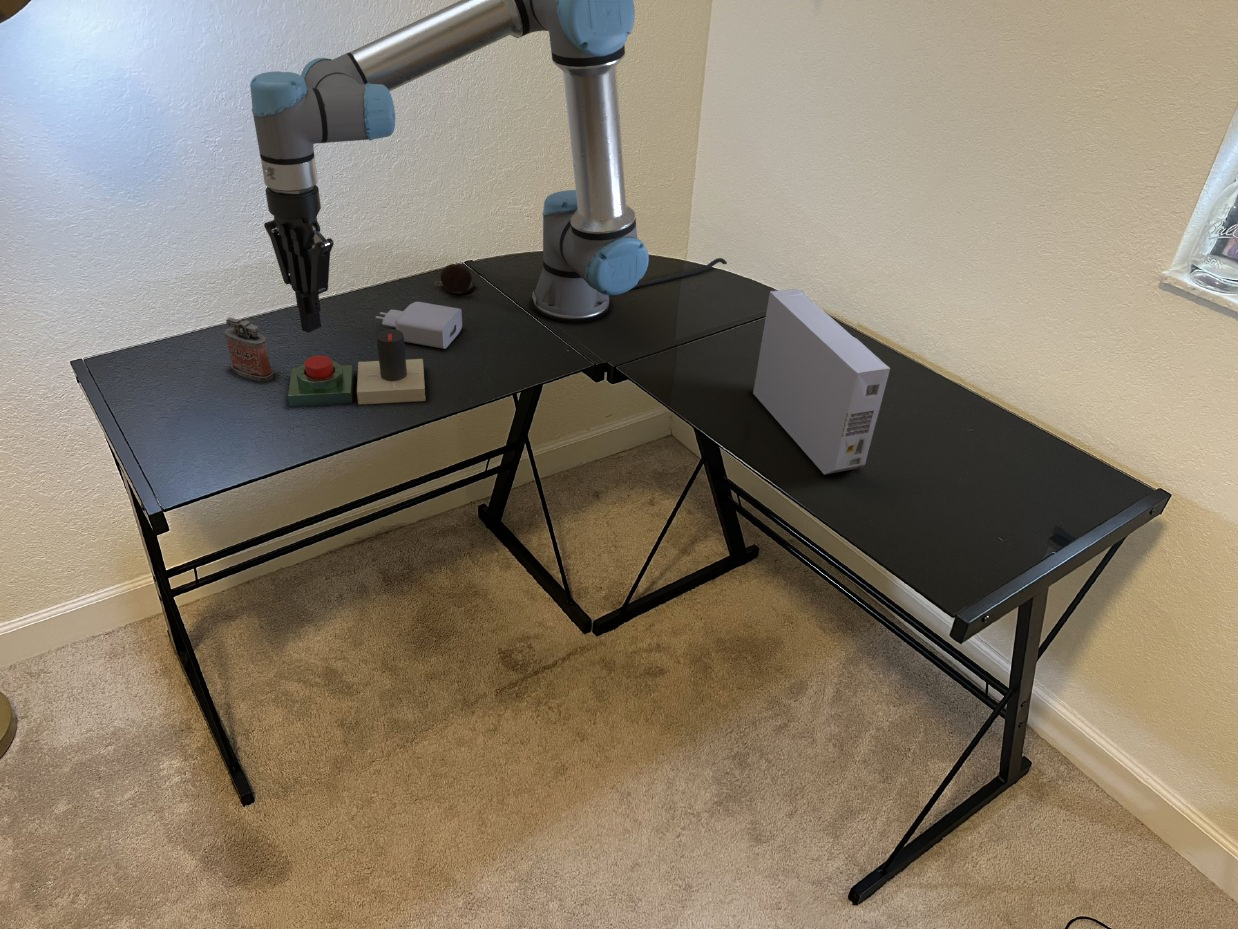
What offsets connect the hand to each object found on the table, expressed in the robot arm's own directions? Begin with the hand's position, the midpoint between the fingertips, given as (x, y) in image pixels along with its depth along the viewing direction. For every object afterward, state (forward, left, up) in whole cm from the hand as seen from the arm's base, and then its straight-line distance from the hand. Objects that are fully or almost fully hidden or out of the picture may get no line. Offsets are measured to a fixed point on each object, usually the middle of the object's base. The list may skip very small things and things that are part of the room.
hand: (311, 328), depth 153 cm
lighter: (+12, -7, -12) cm, 18 cm away
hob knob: (-12, 0, -9) cm, 15 cm away
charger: (-16, -19, -12) cm, 28 cm away
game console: (-79, +21, -12) cm, 83 cm away
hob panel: (-12, 0, -12) cm, 17 cm away
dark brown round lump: (-24, -37, -12) cm, 46 cm away
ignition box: (0, 0, -12) cm, 12 cm away
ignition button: (0, 0, -8) cm, 8 cm away
